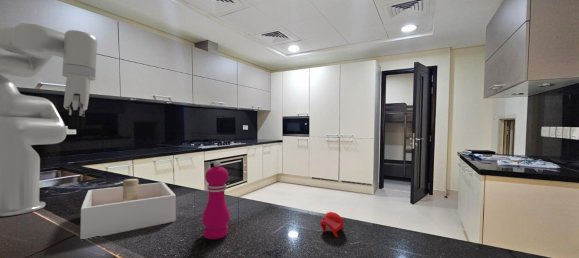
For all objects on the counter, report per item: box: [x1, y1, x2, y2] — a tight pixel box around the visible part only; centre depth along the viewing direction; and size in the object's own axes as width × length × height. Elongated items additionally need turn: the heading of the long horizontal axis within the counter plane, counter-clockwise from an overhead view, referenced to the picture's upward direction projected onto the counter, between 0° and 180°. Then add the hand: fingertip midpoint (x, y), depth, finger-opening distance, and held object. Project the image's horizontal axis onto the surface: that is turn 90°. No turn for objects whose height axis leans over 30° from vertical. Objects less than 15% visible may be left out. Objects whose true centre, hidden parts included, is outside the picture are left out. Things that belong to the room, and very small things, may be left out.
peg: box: [122, 178, 139, 202], centre depth 74 cm, size 4×4×12 cm
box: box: [79, 181, 177, 240], centre depth 74 cm, size 22×22×8 cm
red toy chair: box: [319, 211, 345, 238], centre depth 66 cm, size 8×6×6 cm
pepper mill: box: [201, 160, 231, 240], centre depth 64 cm, size 7×7×20 cm
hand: (76, 128), depth 72 cm, fingers open, 9 cm apart
